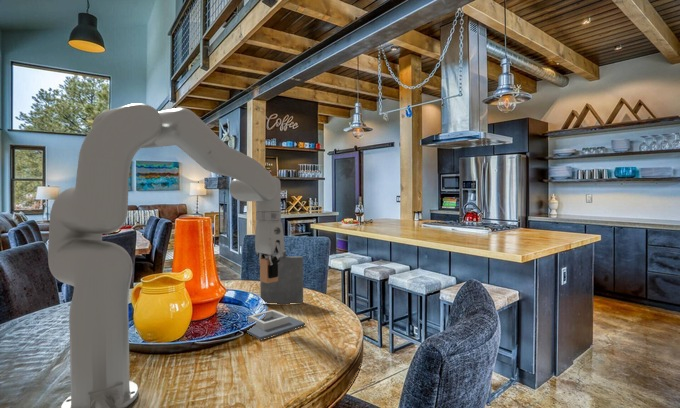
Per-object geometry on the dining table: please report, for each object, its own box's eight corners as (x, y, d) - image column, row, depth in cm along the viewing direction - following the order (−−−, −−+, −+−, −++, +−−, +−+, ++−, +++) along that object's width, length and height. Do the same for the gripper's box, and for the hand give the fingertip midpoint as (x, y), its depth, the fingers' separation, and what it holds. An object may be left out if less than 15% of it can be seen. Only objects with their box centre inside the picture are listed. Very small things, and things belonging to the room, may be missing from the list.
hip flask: (303, 301, 135) (303, 249, 135) (302, 305, 131) (302, 251, 130) (261, 302, 134) (261, 249, 134) (259, 305, 130) (259, 251, 130)
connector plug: (278, 281, 110) (278, 255, 110) (267, 283, 107) (266, 257, 107) (270, 278, 113) (270, 253, 112) (259, 281, 110) (259, 255, 110)
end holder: (305, 326, 110) (305, 316, 110) (260, 340, 99) (260, 330, 99) (275, 313, 121) (275, 304, 121) (232, 325, 110) (232, 316, 110)
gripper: (294, 217, 106) (294, 278, 106) (264, 215, 118) (264, 270, 118) (273, 219, 101) (273, 283, 101) (243, 216, 113) (244, 273, 113)
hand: (268, 275), depth 110 cm, fingers closed on connector plug, 4 cm apart
